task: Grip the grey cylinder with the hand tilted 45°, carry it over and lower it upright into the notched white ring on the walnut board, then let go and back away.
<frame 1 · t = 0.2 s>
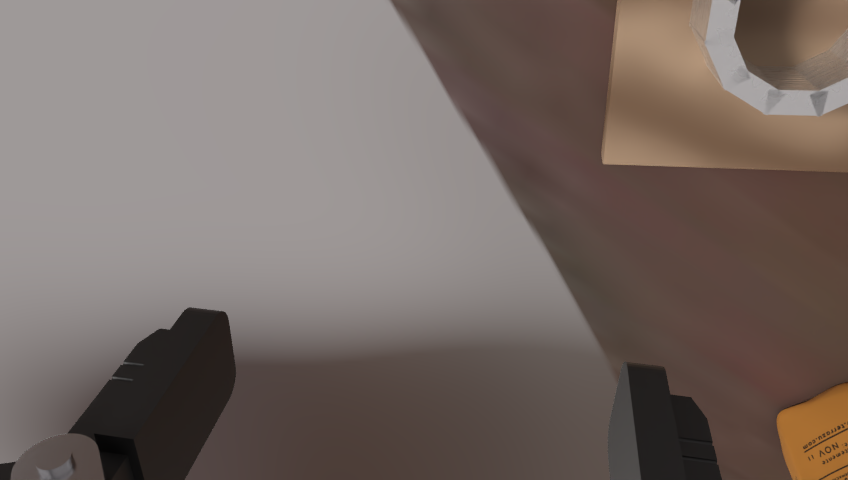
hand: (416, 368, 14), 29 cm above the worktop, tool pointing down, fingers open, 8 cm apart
notched white ring: (801, 8, 33), on the mount board, point 4 cm above the worktop
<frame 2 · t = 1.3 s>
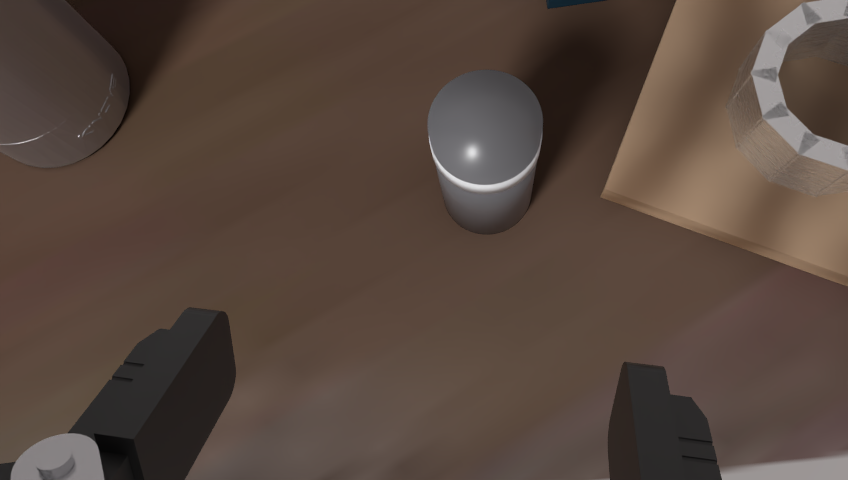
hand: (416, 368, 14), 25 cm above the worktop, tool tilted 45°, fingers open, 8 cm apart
grey cylinder: (487, 191, 41), on the worktop
mount board: (803, 125, 40), on the worktop
notched white ring: (832, 98, 37), on the mount board, point 4 cm above the worktop
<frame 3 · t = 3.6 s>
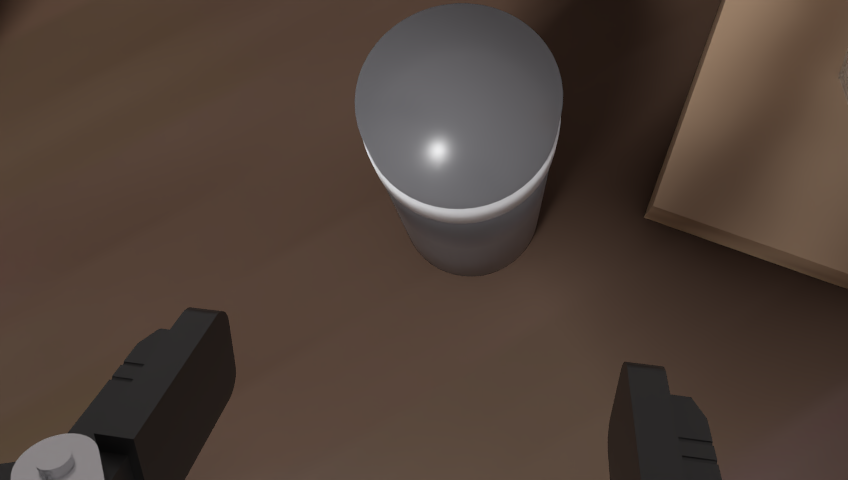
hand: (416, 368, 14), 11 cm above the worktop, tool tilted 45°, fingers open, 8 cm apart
grey cylinder: (470, 210, 27), on the worktop
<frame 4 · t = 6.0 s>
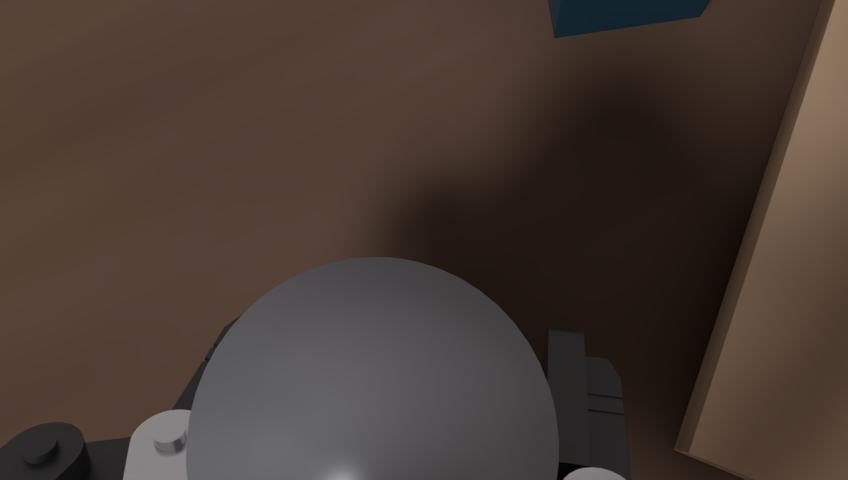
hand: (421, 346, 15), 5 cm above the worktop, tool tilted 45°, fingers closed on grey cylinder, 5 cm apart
grey cylinder: (429, 431, 19), on the worktop, touching gripper
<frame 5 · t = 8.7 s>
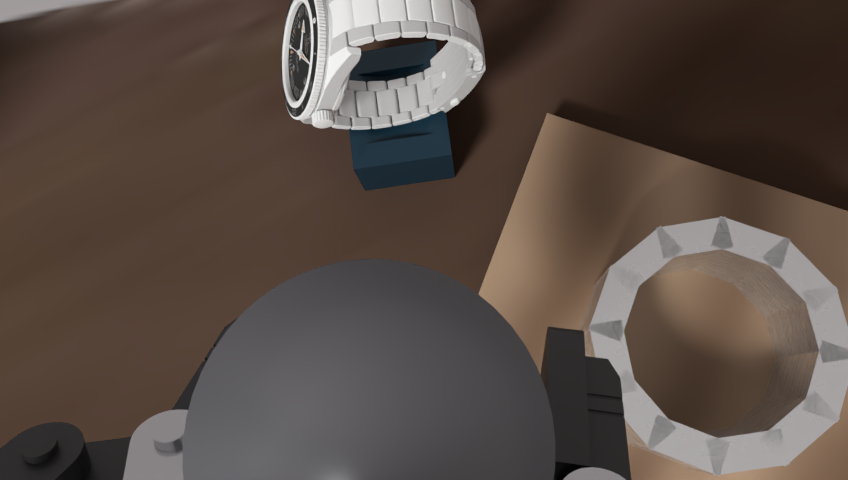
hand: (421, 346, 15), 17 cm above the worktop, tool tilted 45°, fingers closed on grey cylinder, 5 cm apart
grey cylinder: (428, 432, 19), point 13 cm above the worktop, touching gripper
mount board: (680, 352, 31), on the worktop
notched white ring: (703, 345, 28), on the mount board, point 4 cm above the worktop
watch: (401, 132, 35), on the worktop
when the fingers open (8 cm above the worktop, at t = 11.5 s): grey cylinder drops 2 cm, resting on mount board.
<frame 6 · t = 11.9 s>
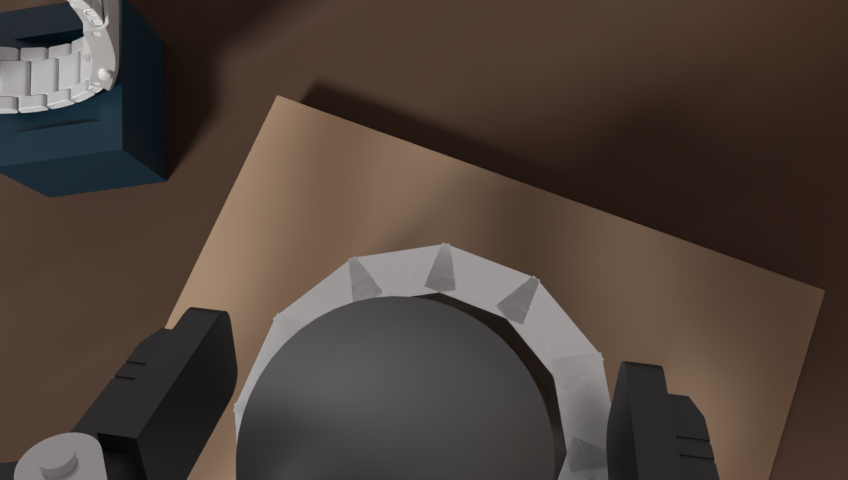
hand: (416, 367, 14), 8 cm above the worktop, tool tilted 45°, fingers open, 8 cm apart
grey cylinder: (437, 436, 21), point 2 cm above the worktop, touching mount board
mount board: (438, 429, 22), on the worktop
notched white ring: (429, 431, 19), on the mount board, point 4 cm above the worktop
watch: (107, 121, 26), on the worktop
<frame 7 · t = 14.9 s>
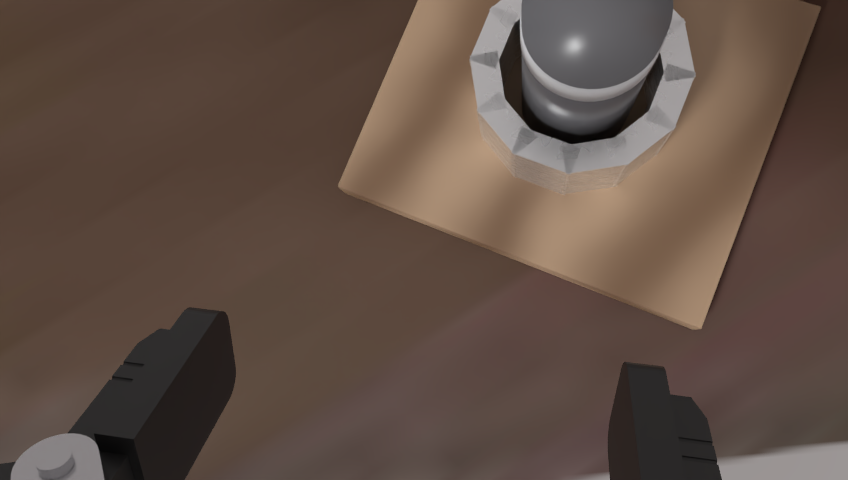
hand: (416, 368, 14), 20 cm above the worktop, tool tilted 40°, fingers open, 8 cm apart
grey cylinder: (575, 102, 34), point 2 cm above the worktop, touching mount board
mount board: (571, 109, 35), on the worktop
notched white ring: (576, 83, 32), on the mount board, point 4 cm above the worktop
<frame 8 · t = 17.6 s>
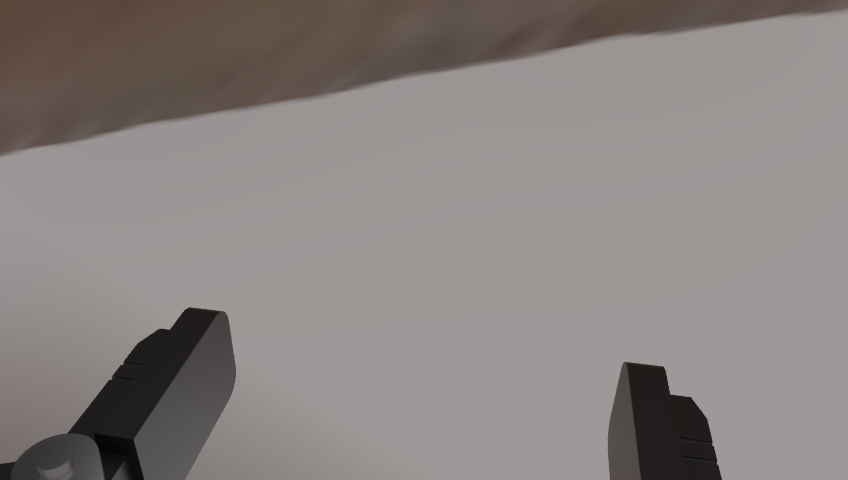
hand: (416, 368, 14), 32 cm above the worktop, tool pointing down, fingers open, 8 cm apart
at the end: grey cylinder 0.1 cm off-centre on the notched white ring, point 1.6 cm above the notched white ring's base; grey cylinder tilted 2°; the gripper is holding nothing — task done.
